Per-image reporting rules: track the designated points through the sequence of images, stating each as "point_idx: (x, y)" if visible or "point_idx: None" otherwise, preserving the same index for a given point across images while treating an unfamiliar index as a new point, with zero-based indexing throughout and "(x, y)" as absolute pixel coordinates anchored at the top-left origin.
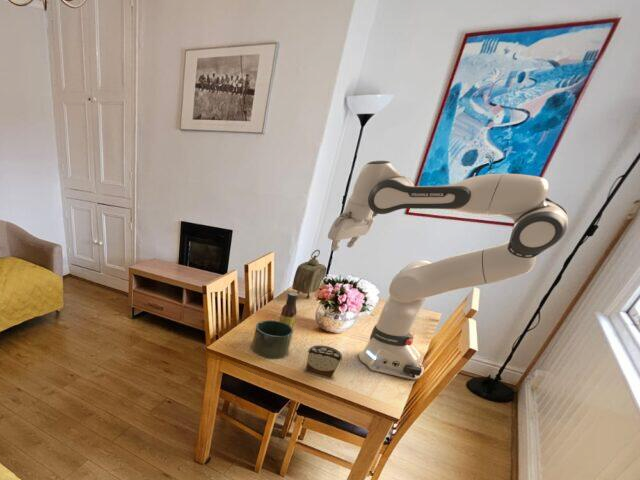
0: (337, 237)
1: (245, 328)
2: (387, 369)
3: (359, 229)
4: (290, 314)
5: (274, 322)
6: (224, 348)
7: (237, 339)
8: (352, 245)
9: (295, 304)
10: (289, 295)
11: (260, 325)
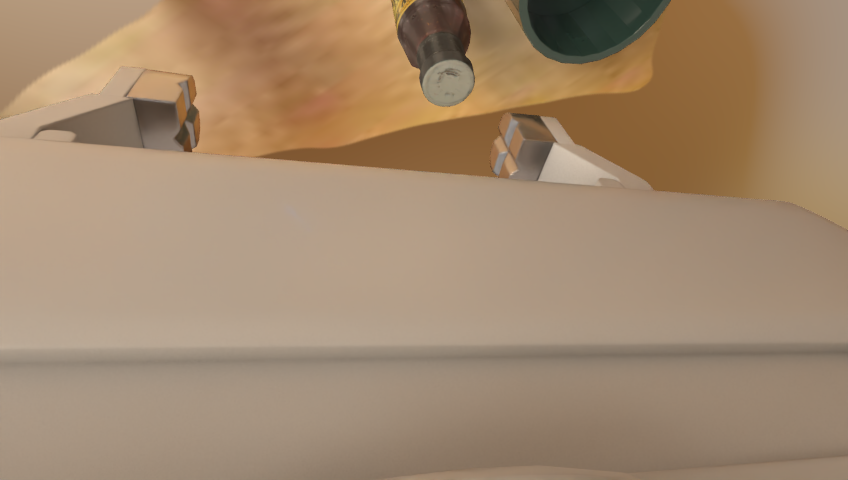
0: (834, 232)
1: (464, 106)
2: None
3: (139, 267)
4: (461, 7)
5: (529, 23)
6: (641, 61)
7: (557, 73)
8: (148, 79)
9: (436, 31)
10: (473, 86)
11: (573, 49)
